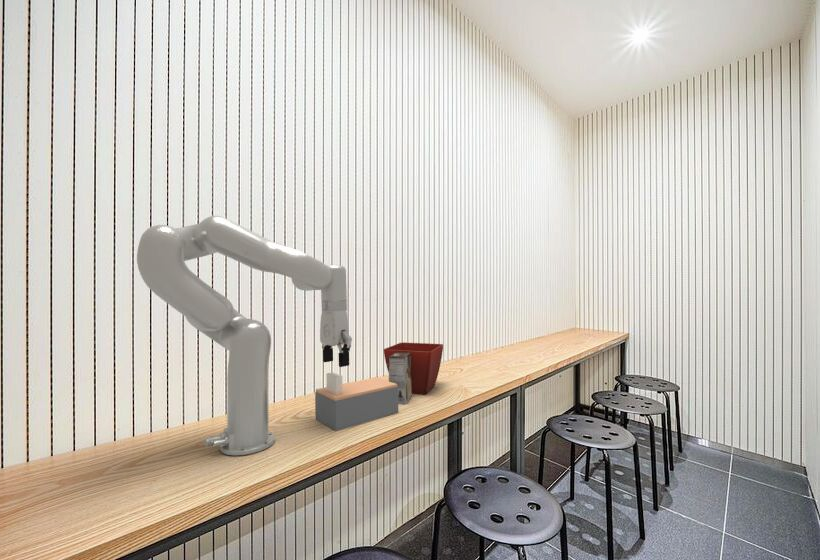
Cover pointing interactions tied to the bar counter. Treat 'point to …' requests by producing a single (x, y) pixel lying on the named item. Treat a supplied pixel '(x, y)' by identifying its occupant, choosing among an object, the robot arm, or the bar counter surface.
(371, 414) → the carton
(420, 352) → the plant pot
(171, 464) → the bar counter surface
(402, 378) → the coffee box
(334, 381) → the lid
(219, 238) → the robot arm
